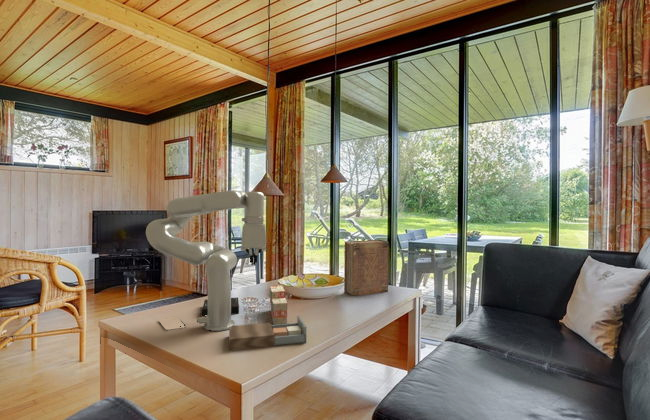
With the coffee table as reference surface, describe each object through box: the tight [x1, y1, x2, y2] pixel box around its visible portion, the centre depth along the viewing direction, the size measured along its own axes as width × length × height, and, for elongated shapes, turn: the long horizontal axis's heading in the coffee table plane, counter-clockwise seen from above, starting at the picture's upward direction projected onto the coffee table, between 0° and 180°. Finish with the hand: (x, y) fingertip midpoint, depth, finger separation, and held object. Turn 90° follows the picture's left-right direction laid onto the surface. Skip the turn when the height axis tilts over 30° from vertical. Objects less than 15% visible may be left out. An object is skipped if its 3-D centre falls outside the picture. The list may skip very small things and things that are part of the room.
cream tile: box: [286, 326, 301, 336], centre depth 140 cm, size 5×5×3 cm
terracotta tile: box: [273, 327, 287, 341], centre depth 138 cm, size 5×5×3 cm
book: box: [343, 239, 390, 297], centre depth 211 cm, size 25×9×30 cm, turn 119°
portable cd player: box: [200, 297, 240, 317], centre depth 175 cm, size 16×17×4 cm
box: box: [271, 315, 307, 347], centre depth 140 cm, size 12×14×6 cm
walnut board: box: [228, 322, 275, 351], centre depth 136 cm, size 16×14×4 cm
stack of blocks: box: [269, 285, 288, 325], centre depth 165 cm, size 21×6×12 cm, turn 13°
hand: (253, 264), depth 151 cm, fingers closed
